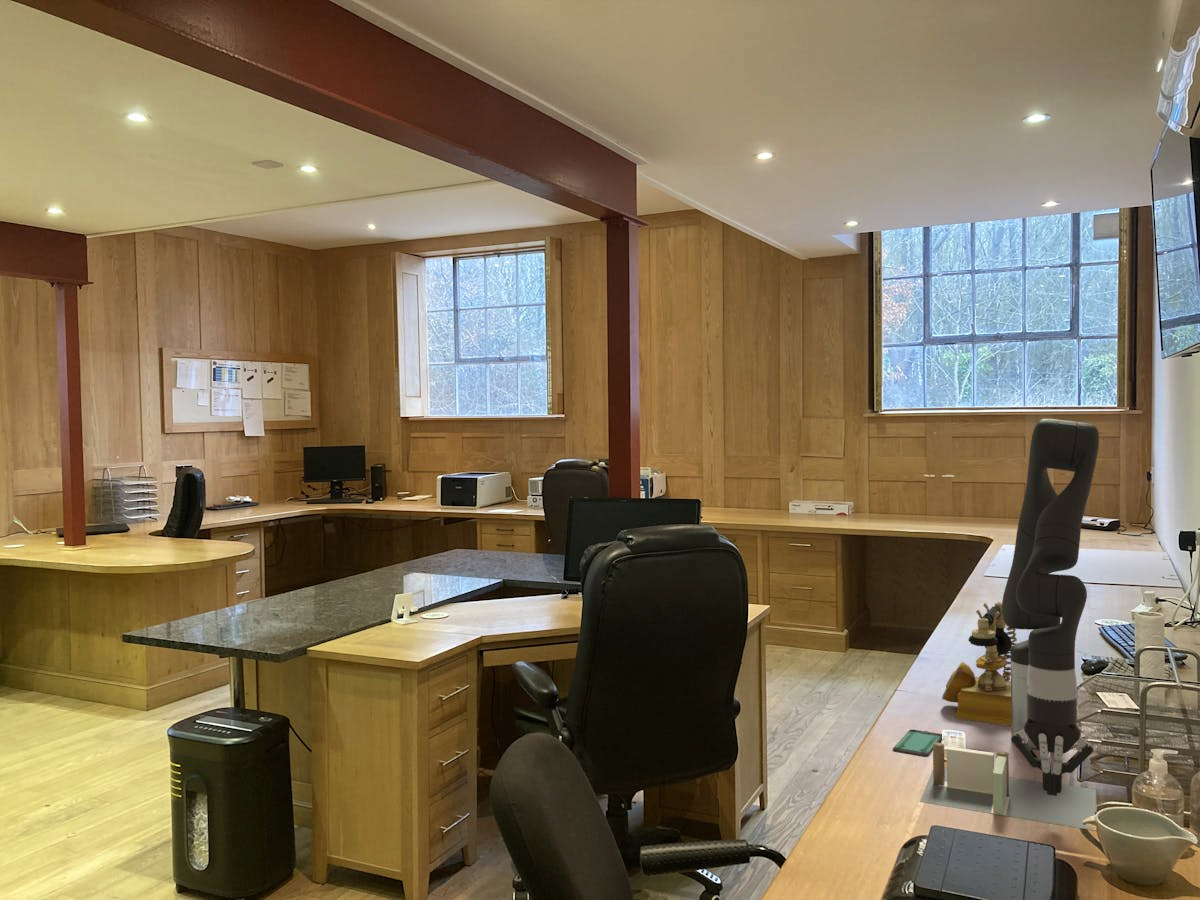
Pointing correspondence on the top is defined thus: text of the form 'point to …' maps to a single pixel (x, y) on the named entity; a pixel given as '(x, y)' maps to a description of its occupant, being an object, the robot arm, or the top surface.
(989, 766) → the fence fixed section
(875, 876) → the top surface
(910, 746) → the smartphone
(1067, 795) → the board
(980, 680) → the tan ornate piece
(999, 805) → the fence gate panel
